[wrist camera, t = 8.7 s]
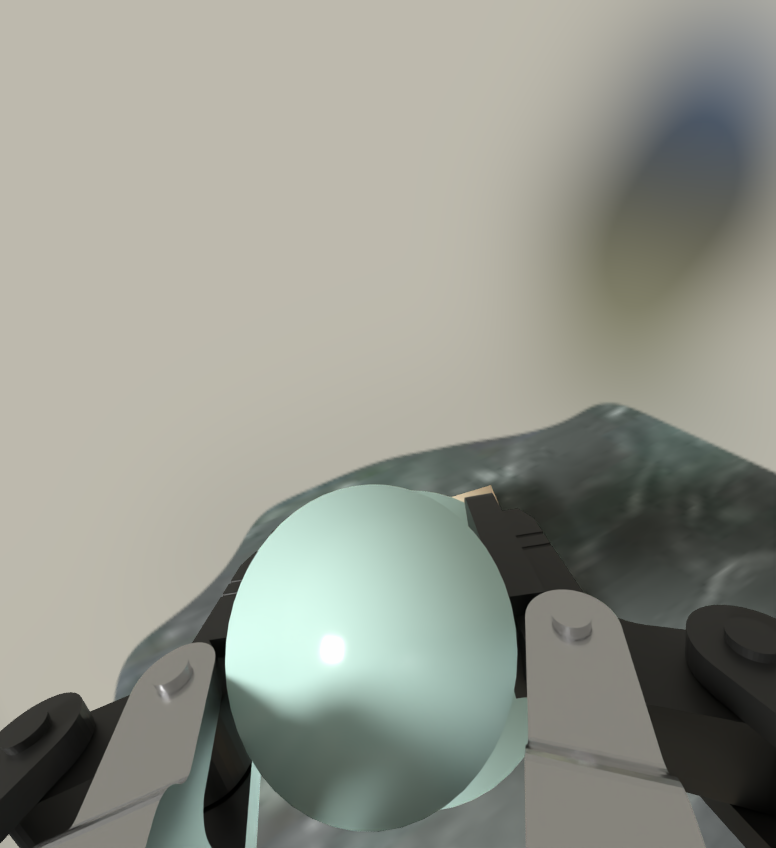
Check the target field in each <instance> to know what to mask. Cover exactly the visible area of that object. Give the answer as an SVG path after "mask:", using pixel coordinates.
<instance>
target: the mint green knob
mask: <svg viewBox="0 0 776 848" xmlns="http://www.w3.org/2000/svg"><path fill="white" fill-rule="evenodd" d="M225 669H226V684H227V691H228V697H229V702H230V708H231V712H232V715H233V718H234V721H235V725H236V728H237V731H238V734H239V736H240V738H241V740H242V742H243V745H244V747H245V749H246V751H247V753H248V755H249V757H250V758H251V760H252V761H253V763H254V765H255V766H256V768H257V770H258V771H259V773H260V774H261V775H262V776H263V778H264V779H265V780H266V781H267V782H268V784H269V785H270V786H271V787H272V788H273V790H274V791H275V792H277V793H278V794H279V795H280V796H281V797H282V798H283V799H285V800H286V801H287V802H288V803H289V804H290V805H291V806H293V807H294V808H296V809H298V810H299V811H301V812H302V813H304V814H306V815H307V816H309V817H310V818H312V819H315V820H317V821H320V822H322V823H325V824H327V825H330V826H332V827H337V828H342V829H346V830H351V831H371V832H379V831H384V830H390V829H396V828H401V827H404V826H407V825H409V824H412V823H415V822H417V821H420V820H423V819H425V818H427V817H428V816H430V815H432V814H433V813H435V812H437V811H438V810H440V809H446V808H452V807H455V806H458V805H461V804H463V803H466V802H469V801H471V800H474V799H476V798H477V797H479V796H481V795H482V794H484V793H486V792H488V791H489V790H491V789H493V788H494V787H495V786H496V785H497V784H499V783H500V782H501V781H502V780H503V779H504V778H506V777H507V776H508V775H509V774H510V773H511V772H512V771H513V770H514V768H515V767H516V766H517V765H518V764H519V762H520V761H521V760H522V759H523V758H524V756H525V746H526V744H528V708H527V697H525V698H517V699H516V696H515V693H514V687H515V681H516V672H517V639H516V627H515V622H514V616H513V611H512V606H511V603H510V599H509V596H508V593H507V590H506V587H505V584H504V581H503V579H502V577H501V575H500V572H499V570H498V568H497V566H496V564H495V562H494V560H493V559H492V557H491V555H490V554H489V552H488V550H487V549H486V547H485V546H484V545H483V543H482V542H481V541H480V539H479V538H478V537H477V535H476V534H475V533H474V532H473V531H472V530H471V529H470V528H469V527H468V521H467V515H466V509H465V503H464V502H462V501H460V500H457V499H455V498H452V497H449V496H445V495H442V494H438V493H432V492H426V491H412V490H408V489H405V488H401V487H395V486H389V485H360V486H352V487H348V488H344V489H339V490H336V491H333V492H331V493H328V494H325V495H323V496H321V497H319V498H317V499H315V500H313V501H311V502H309V503H308V504H306V505H305V506H303V507H301V508H300V509H298V510H297V511H295V512H294V513H293V514H292V515H291V516H289V517H288V518H287V519H286V520H285V521H284V522H282V523H281V524H280V525H279V526H278V528H277V529H276V530H275V531H274V532H273V533H272V534H271V535H270V536H269V537H268V539H267V540H266V541H265V543H264V544H263V545H262V546H261V548H260V549H259V550H258V552H257V554H256V555H255V557H254V559H253V560H252V562H251V564H250V565H249V567H248V569H247V571H246V573H245V575H244V577H243V580H242V582H241V584H240V587H239V589H238V592H237V595H236V598H235V601H234V604H233V608H232V612H231V616H230V620H229V626H228V633H227V640H226V656H225Z"/></svg>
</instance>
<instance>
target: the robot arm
mask: <svg viewBox="0 0 776 848" xmlns="http://www.w3.org/2000/svg"><path fill="white" fill-rule="evenodd" d="M464 502H465V509H466V515H467V521H468V527H469V528H470V529H471V530H472V531H473V532H474V533H475V534H476V535H477V537H478V538H479V539H480V541H481V542H482V543H483V545H484V546H485V547H486V549H487V550H488V552H489V554H490V555H491V557H492V559H493V560H494V562H495V564H496V566H497V568H498V570H499V572H500V575H501V577H502V579H503V581H504V584H505V587H506V590H507V593H508V596H509V599H510V603H511V606H512V611H513V616H514V622H515V627H516V639H517V672H516V681H515V687H514V693H515V696H516V699H517V698H525V697H527V708H528V744H526V746H525V824H526V848H706V847H705V844H704V841H703V838H702V835H701V832H700V829H699V826H698V823H697V820H696V818H695V815H694V812H693V809H692V806H691V804H690V801H689V799H688V796H687V794H686V792H688V793H691V794H695V795H699V796H700V797H701V798H702V799H703V800H704V801H705V803H706V804H707V805H708V806H709V807H710V808H711V809H712V810H713V812H714V813H715V814H716V815H717V816H718V817H719V818H720V819H721V820H722V822H723V823H724V824H725V825H726V826H727V827H728V828H729V829H730V831H731V832H732V833H733V834H734V835H735V836H736V837H737V838H738V840H739V841H740V842H741V843H742V844H743V845H744V846H745V847H746V848H776V619H775V618H773V617H771V616H768V615H766V614H763V613H760V612H757V611H754V610H750V609H747V608H743V607H737V606H730V605H711V606H705V607H702V608H699V609H697V610H695V611H694V612H692V613H691V614H690V616H689V617H688V619H687V622H686V630H683V629H674V628H666V627H658V626H650V625H643V624H637V623H633V622H629V621H625V620H623V619H620V618H617V616H616V615H615V613H614V612H613V611H612V610H611V609H610V608H609V607H608V606H606V605H605V604H604V603H603V602H601V601H599V600H598V599H596V598H594V597H592V596H590V595H588V594H585V593H583V592H582V590H581V589H580V587H579V586H578V584H577V583H576V581H575V580H574V578H573V577H572V575H571V574H570V572H569V571H568V569H567V567H566V566H565V564H564V563H563V561H562V560H561V558H560V557H559V555H558V554H557V552H556V551H555V549H554V548H553V546H551V545H550V542H549V540H548V539H547V537H546V536H545V534H543V532H542V530H541V528H540V527H539V525H538V524H537V522H536V521H535V519H534V518H533V517H531V516H530V515H528V514H526V513H525V512H523V511H521V510H520V509H518V508H516V509H510V510H504V511H502V509H501V508H500V506H499V504H498V502H497V500H496V498H495V496H494V494H493V493H488V494H482V495H476V496H470V497H465V498H464ZM275 530H276V529H275ZM275 530H273V531H272V532H271V534H272V533H273V532H274V531H275ZM271 534H270V535H271ZM257 552H258V551H256V552H255V553H254V554H253V555H252V556H251V557H249V558H248V559H247V560H246V561H245V562H244V563H243V564H242V565H241V566H240V567H239V569H238V571H237V572H236V574H235V575H234V577H233V579H232V580H231V584H229V585H228V587H227V588H226V590H225V591H224V593H223V597H221V598H220V599H219V601H218V602H217V604H216V606H215V607H214V609H213V610H212V612H211V614H210V615H209V617H208V618H207V620H206V622H205V623H204V625H203V626H202V628H201V630H200V631H199V633H198V634H197V636H196V638H195V639H194V641H193V642H192V643H191V644H187V645H184V646H182V647H179V648H177V649H175V650H173V651H171V652H170V653H168V654H167V655H165V656H163V657H162V658H161V659H159V660H158V661H157V662H156V663H154V664H153V665H152V666H151V667H150V668H149V669H148V670H147V671H146V672H145V673H144V674H143V675H142V677H141V678H140V679H139V680H138V682H137V683H136V685H135V686H134V688H133V690H132V692H131V694H130V695H129V696H126V697H124V698H122V699H119V700H117V701H114V702H112V703H110V704H107V705H105V706H103V707H100V708H98V709H95V710H93V711H91V712H90V711H89V709H88V708H87V706H86V705H85V703H84V701H83V700H82V698H81V697H80V695H79V694H77V693H71V692H70V693H63V694H59V695H56V696H54V697H51V698H49V699H47V700H45V701H43V702H41V703H39V704H37V705H35V706H34V707H32V708H30V709H29V710H27V711H26V712H24V713H23V714H21V715H20V716H19V717H17V718H16V719H15V720H14V721H12V722H11V723H10V724H8V725H7V726H6V727H5V728H4V729H3V730H1V731H0V843H1V842H2V841H3V840H4V839H5V838H6V836H7V835H8V834H9V835H10V836H11V837H12V839H13V840H14V841H15V843H16V844H17V845H18V846H19V848H256V845H257V828H258V810H259V793H260V776H261V774H260V773H259V771H258V770H257V768H256V766H255V765H254V763H253V761H252V760H251V758H250V757H249V755H248V753H247V751H246V749H245V747H244V745H243V742H242V740H241V738H240V736H239V734H238V731H237V728H236V725H235V721H234V718H233V715H232V712H231V708H230V702H229V697H228V691H227V684H226V669H225V656H226V640H227V633H228V626H229V620H230V616H231V612H232V608H233V604H234V601H235V598H236V595H237V592H238V589H239V587H240V584H241V582H242V580H243V577H244V575H245V573H246V571H247V569H248V567H249V565H250V564H251V562H252V560H253V559H254V557H255V555H256V554H257Z"/></svg>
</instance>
